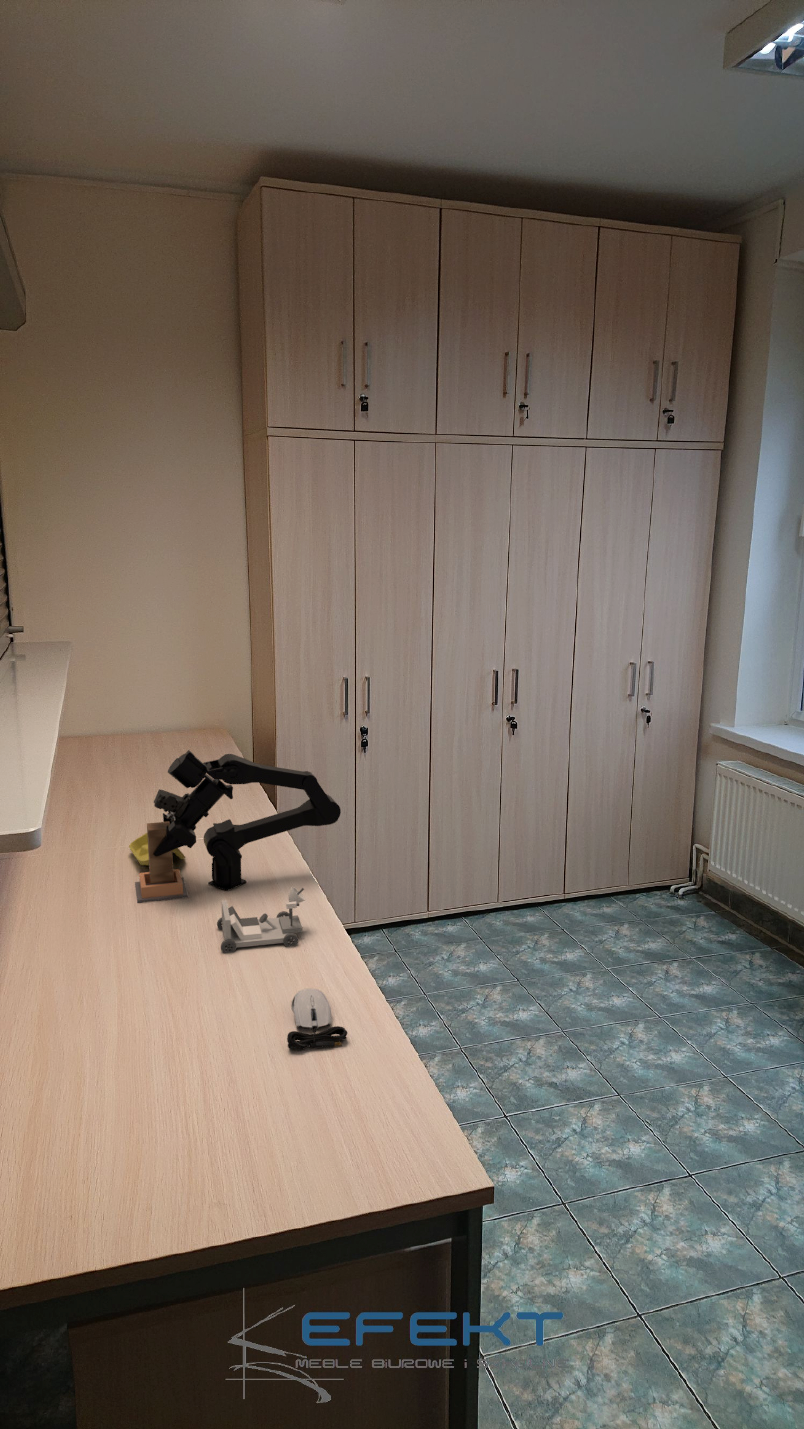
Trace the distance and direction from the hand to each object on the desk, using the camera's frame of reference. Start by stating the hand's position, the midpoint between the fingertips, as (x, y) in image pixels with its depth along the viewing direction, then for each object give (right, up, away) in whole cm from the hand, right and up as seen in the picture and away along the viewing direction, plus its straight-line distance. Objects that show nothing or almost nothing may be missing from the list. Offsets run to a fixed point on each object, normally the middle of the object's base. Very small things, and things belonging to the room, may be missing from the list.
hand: (153, 851), depth 211 cm
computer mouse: (+41, -22, -51) cm, 69 cm away
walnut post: (+1, -6, +2) cm, 7 cm away
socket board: (+1, -9, +2) cm, 10 cm away
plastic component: (-4, -6, +20) cm, 21 cm away
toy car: (+28, -15, -19) cm, 37 cm away
